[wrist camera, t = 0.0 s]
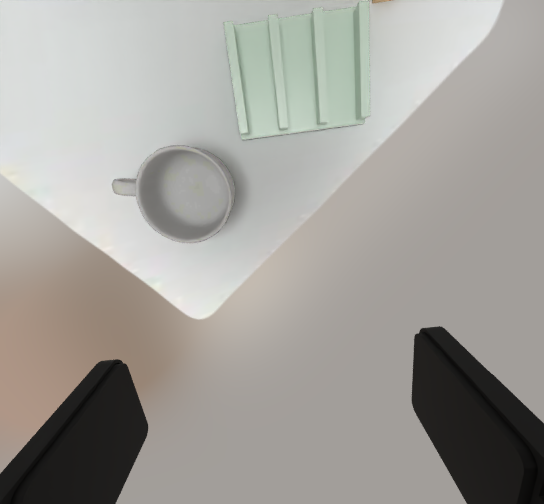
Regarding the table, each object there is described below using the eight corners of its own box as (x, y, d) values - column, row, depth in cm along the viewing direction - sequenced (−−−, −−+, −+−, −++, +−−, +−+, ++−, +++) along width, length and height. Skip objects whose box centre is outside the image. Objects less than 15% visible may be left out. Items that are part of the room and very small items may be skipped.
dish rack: (226, 30, 32) (221, 16, 29) (360, 10, 31) (369, -7, 28) (242, 140, 36) (239, 138, 32) (362, 124, 35) (371, 120, 32)
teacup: (249, 164, 37) (242, 164, 29) (227, 238, 40) (217, 256, 32) (146, 129, 35) (111, 119, 28) (132, 208, 38) (98, 219, 31)
